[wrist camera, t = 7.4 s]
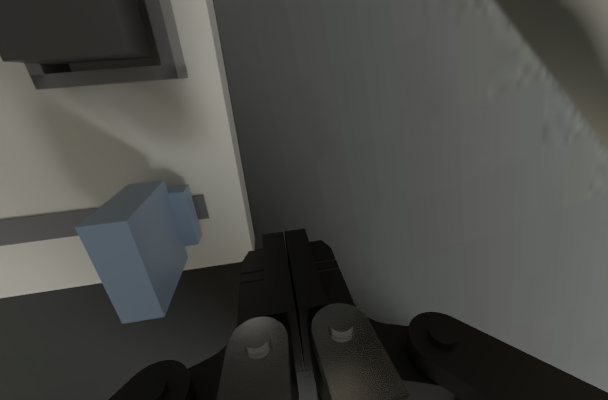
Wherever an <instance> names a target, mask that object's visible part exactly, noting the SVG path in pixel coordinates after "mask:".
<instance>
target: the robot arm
mask: <svg viewBox="0 0 608 400" xmlns="http://www.w3.org/2000/svg"><path fill="white" fill-rule="evenodd" d="M262 238H263V249H260V250H254V251H249V252H248V253H247V255H246V256H245V258H244V259H243V261H242V268H241V281H240V283H241V285H240V295H239V308H238V321H237V328H236V329H235V330H234V331H233V333H232V334H231V336H230V338H229V340H228V343H227V345H226V346H225V347H224V348H223V349H222V350H221V351H220V352H218V353H217V354H216V355H214V356H212V357H210V358H209V359H206V360H204V361H202V362H200V363H198V364H196V365H194V366H192V367H190V368H188V369H187V368H186V367H185V366H184V365H183V364H182V363H180V362H178V361H174V360H165V361H160V362H156V363H154V364H152V365H149V366H148V367H146V368H144V369H143V370H141V371H140V372H138V373H137V374H136V375H135V376H133V377H132V378H131V379H130V380H129V381H128V382H127V383H126V384H125V385H124V386H123V387H122V388H121V389H120V390H118V391H117V392H116V393H115V394H114V395H113V396H112V397H111V398H110V399H109V400H298V399H299V392H298V385H297V377H296V373H298V372H303V368H302V360H301V351H300V342H301V348H302V354H303V360H304V366H305V371H307V370H312V369H313V372H314V377H315V382H316V389H317V399H318V400H608V393H607V392H605V391H603V390H601V389H599V388H597V387H595V386H593V385H591V384H589V383H587V382H584V381H582V380H580V379H578V378H576V377H574V376H572V375H570V374H568V373H566V372H564V371H562V370H560V369H558V368H556V367H554V366H552V365H550V364H548V363H545V362H543V361H541V360H539V359H537V358H535V357H533V356H531V355H529V354H527V353H525V352H523V351H521V350H519V349H517V348H515V347H513V346H511V345H509V344H506V343H504V342H502V341H500V340H498V339H496V338H494V337H492V336H490V335H488V334H486V333H484V332H482V331H480V330H478V329H476V328H474V327H472V326H469V325H467V324H465V323H463V322H461V321H459V320H457V319H455V318H453V317H451V316H448V315H446V314H442V313H437V312H425V313H421V314H419V315H417V316H415V317H414V318H413V319H412V320H411V322H410V324H409V326H401V325H392V324H384V323H380V322H376V321H374V320H372V319H370V318H368V317H367V316H366V315H365V314H364V313H363V312H362V311H361V310H360V309H358V308H357V307H356V306H355V304H354V302H353V300H352V297H351V295H350V292H349V290H348V288H347V285H346V283H345V281H344V278H343V276H342V273H341V271H340V269H339V266H338V264H337V262H336V260H335V257H334V255H333V252H332V250H331V248H330V247H329V246H328V245H327V244H325V243H324V242H323V241H322V240H319V241H313V242H309V241H308V237H307V234H306V231H305V229H298V230H291V231H285V241H286V248H285V242H284V236H283V232H278V233H271V234H264V235H262ZM286 249H287V254H286ZM287 257H288V260H287ZM297 323H298V325H297ZM298 329H299V334H298ZM299 336H300V342H299Z"/></svg>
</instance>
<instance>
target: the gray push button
mask: <svg viewBox="0 0 608 400" xmlns="http://www.w3.org/2000/svg"><path fill="white" fill-rule="evenodd" d="M0 56H1V58H2V60H3V62H19V63H35V64H51V65H55V64H69V63H82V62H96V61H110V60H124V59H137V58H151V57H153V56H152V52H151V48H150V45H149V41H148V37H147V34H146V30H145V26H144V23H143V19H142V15H141V12H140V8H139V4H138V1H137V0H0Z"/></svg>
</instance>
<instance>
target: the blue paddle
mask: <svg viewBox="0 0 608 400" xmlns="http://www.w3.org/2000/svg"><path fill="white" fill-rule="evenodd" d="M75 229H76V231H77V233H78V235H79V237H80V239H81V241H82V243H83V245H84V247H85V249H86V251H87V253H88V255H89V257H90V259H91V261H92V263H93V265H94V268H95V270H96V272H97V274H98V276H99V278H100V280H101V282H102V284H103V286H104V288H105V290H106V292H107V294H108V296H109V298H110V300H111V302H112V304H113V306H114V308H115V310H116V312H117V314H118V316H119V318H120V320H121V322H122V324H125V323H131V322H137V321H143V320H149V319H155V318H161V317H165V315H166V312H167V309H168V307H169V304H170V302H171V299H172V297H173V294H174V292H175V289H176V287H177V284H178V282H179V279H180V277H181V274H182V272H183V269H184V267H185V264H186V262H187V259H188V255H187V252H186V248H185V246H191V245H198V244H199V242H200V239H201V237H202V232H201V228H200V224H199V221H198V217H197V213H196V210H195V206H194V202H193V199H192V195H191V191H190V188H189V185H181V186H172V187H166V184H165V181H164V180H160V181H152V182H143V183H135V184H128V185H127V186H125V187H124V188H123V189H122V190H120V191H119V192H118V193H117V194H115V195H114V196H113V197H112V198H111V199H109V200H108V201H107V202H106V203H104V204H103V205H102V206H101V207H99V208H98V209H97V210H96V211H94V212H93V213H92V214H91V215H90V216H88V217H87V218H86V219H85V220H83V221H82V222H81V223H80V224H78V225H77V226H76V227H75Z"/></svg>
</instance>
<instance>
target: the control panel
mask: <svg viewBox="0 0 608 400" xmlns="http://www.w3.org/2000/svg"><path fill="white" fill-rule="evenodd" d="M137 1H138V4H139V8H140V12H141V15H142V19H143V23H144V26H145V30H146V34H147V37H148V41H149V45H150V48H151V52H152V56H153V57H151V58H137V59H124V60H110V61H96V62H82V63H69V64H55V65H51V64H35V63H19V62H3V60H2V58H1V56H0V298H5V297H11V296H18V295H25V294H31V293H38V292H44V291H51V290H58V289H64V288H71V287H78V286H84V285H91V284H98V283H102V282H101V280H100V278H99V276H98V274H97V272H96V270H95V268H94V265H93V263H92V261H91V259H90V257H89V255H88V253H87V251H86V249H85V247H84V245H83V243H82V241H81V239H80V237H79V235H78V233H77V231H76V229H75V227H76V226H77V225H78V224H80V223H81V222H82V221H83V220H85V219H86V218H87V217H88V216H90V215H91V214H92V213H93V212H94V211H96V210H97V209H98V208H99V207H101V206H102V205H103V204H104V203H106V202H107V201H108V200H109V199H111V198H112V197H113V196H114V195H115V194H117V193H118V192H119V191H120V190H122V189H123V188H124V187H125V186H127V185H128V184H135V183H143V182H152V181H160V180H164V181H165V184H166V187H172V186H181V185H189V188H190V191H191V195H192V199H193V202H194V206H195V210H196V213H197V217H198V221H199V224H200V228H201V232H202V237H201V239H200V242H199V244H198V245H191V246H185V248H186V252H187V255H188V259H187V262H186V264H185V267H184V269H183V271H184V270H190V269H197V268H204V267H210V266H217V265H224V264H230V263H237V262H242V261H243V259H244V258H245V256H246V255H247V253H248V252H249V251H254V250H255V236H254V230H253V225H252V219H251V214H250V208H249V202H248V197H247V191H246V186H245V180H244V174H243V169H242V163H241V157H240V152H239V146H238V141H237V135H236V129H235V124H234V118H233V112H232V107H231V101H230V96H229V90H228V84H227V79H226V73H225V68H224V62H223V56H222V51H221V45H220V39H219V34H218V28H217V23H216V17H215V11H214V6H213V0H137Z"/></svg>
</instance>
